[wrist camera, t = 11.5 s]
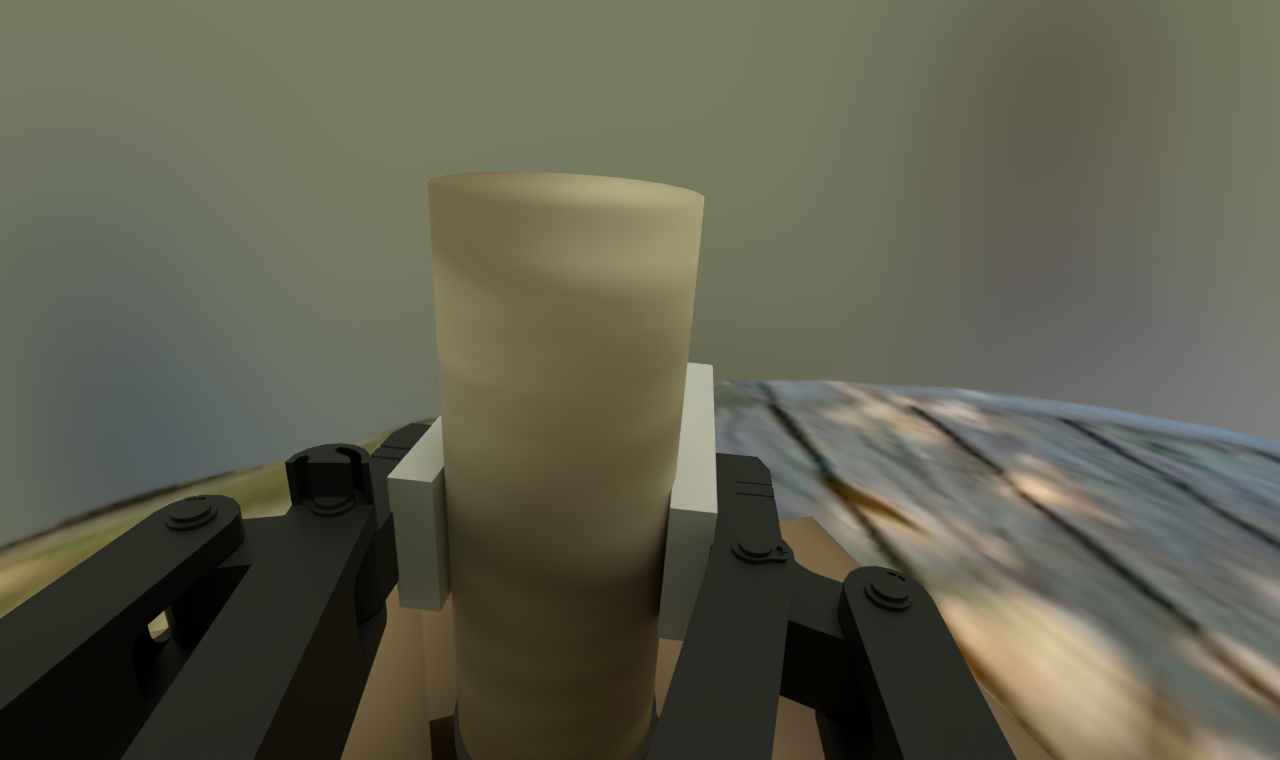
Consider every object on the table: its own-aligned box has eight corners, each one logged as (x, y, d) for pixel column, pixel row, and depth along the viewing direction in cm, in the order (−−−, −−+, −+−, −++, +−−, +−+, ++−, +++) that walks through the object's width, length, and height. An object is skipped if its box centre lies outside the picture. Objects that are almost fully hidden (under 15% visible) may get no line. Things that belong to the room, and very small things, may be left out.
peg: (613, 714, 18) (651, 175, 12) (672, 876, 14) (765, 212, 8) (452, 756, 16) (414, 167, 11) (472, 950, 12) (429, 207, 7)
